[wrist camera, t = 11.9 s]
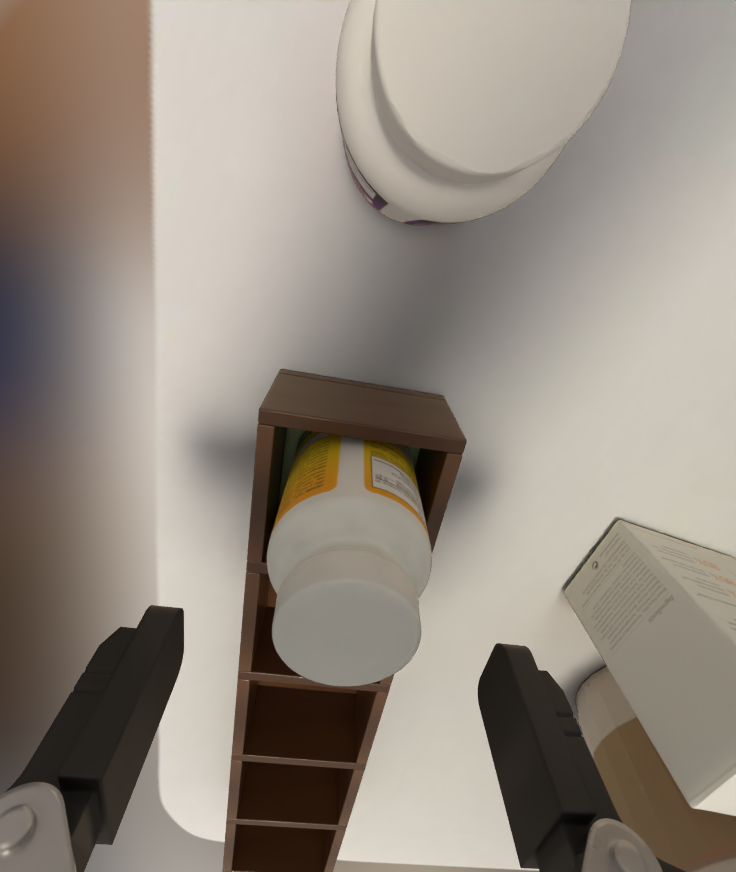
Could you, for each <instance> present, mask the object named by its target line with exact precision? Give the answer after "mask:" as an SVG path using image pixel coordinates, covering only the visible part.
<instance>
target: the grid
mask: <svg viewBox="0 0 736 872" xmlns="http://www.w3.org/2000/svg"><path fill="white" fill-rule="evenodd" d="M258 422H259V423H258V428H257V440H256V453H255V466H254V478H253V491H252V504H251V517H250V529H249V542H248V555H247V568H246V570H247V571H246V580H245V593H244V606H243V618H242V631H241V644H240V657H239V671H238V682H237V695H236V708H235V720H234V733H233V746H232V757H231V770H230V783H229V796H228V808H227V823H226V834H225V847H224V860H223V872H333V869H334V866H335V863H336V860H337V856H338V853H339V850H340V847H341V844H342V840H343V837H344V834H345V831H346V827H347V824H348V821H349V818H350V815H351V812H352V808H353V805H354V802H355V799H356V795H357V792H358V789H359V786H360V783H361V779H362V776H363V773H364V770H365V767H366V763H367V760H368V757H369V753H370V750H371V747H372V744H373V741H374V737H375V734H376V731H377V728H378V725H379V721H380V718H381V715H382V712H383V708H384V705H385V702H386V699H387V696H388V692H389V689H390V686H391V683H392V680H393V676H394V674H393V675H391V676H389V677H387V678H384V679H382V680H380V681H377V682H374V683H370V684H365V685H359V686H332V685H326V684H323V683H319V682H315V681H312V680H309V679H307V678H305V677H303V676H301V675H299V674H298V673H296V672H295V671H293V670H292V669H290V668H289V667H288V666H287V665H286V664H285V663H284V661H283V660H282V659H281V658H280V656H279V654H278V653H277V651H276V649H275V646H274V643H273V639H272V624H273V618H274V613H275V607H276V599H277V593H276V592H275V590H274V588H273V586H272V583H271V581H270V578H269V574H268V568H267V550H268V545H269V540H270V537H271V533H272V530H273V527H274V523H275V520H276V516H277V513H278V510H279V507H280V503H281V500H282V496H283V493H284V490H285V486H286V483H287V480H288V476H289V472H290V469H291V466H292V462H293V458H294V454H295V452H296V449H297V446H298V444H299V442H300V440H301V439H302V437H303V436H304V435H305V434H306V432H307V431H312V432H319V433H325V434H332V435H339V436H345V437H352V438H358V439H365V440H372V441H378V442H385V443H391V444H398V445H405V446H408V447H409V450H410V454H411V457H412V462H413V466H414V471H415V475H416V480H417V484H418V489H419V494H420V498H421V503H422V508H423V512H424V517H425V521H426V526H427V530H428V534H429V540H430V545H431V553H432V552H433V548H434V545H435V542H436V539H437V536H438V532H439V529H440V526H441V523H442V520H443V516H444V513H445V510H446V507H447V503H448V500H449V497H450V494H451V491H452V487H453V484H454V481H455V478H456V475H457V471H458V468H459V465H460V462H461V459H462V454H463V452H464V448H465V445H466V442H467V441H466V438H465V436H464V434H463V433H462V431H461V429H460V427H459V425H458V423H457V421H456V419H455V417H454V415H453V413H452V411H451V409H450V407H449V405H448V403H447V402H446V400H445V398H444V396H441V395H435V394H429V393H423V392H417V391H411V390H405V389H399V388H393V387H386V386H380V385H374V384H368V383H362V382H356V381H350V380H344V379H338V378H332V377H326V376H320V375H314V374H308V373H302V372H296V371H289V370H283V369H280V371H279V373H278V375H277V376H276V378H275V380H274V382H273V384H272V386H271V388H270V390H269V392H268V393H267V395H266V397H265V399H264V401H263V403H262V405H261V407H260V409H259V417H258Z"/></svg>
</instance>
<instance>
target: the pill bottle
mask: <svg viewBox="0 0 736 872" xmlns="http://www.w3.org/2000/svg"><path fill="white" fill-rule="evenodd" d="M630 9H631V0H351V1H350V4H349V7H348V9H347V12H346V15H345V18H344V22H343V26H342V30H341V35H340V40H339V45H338V53H337V63H336V101H337V111H338V116H339V122H340V127H341V133H342V138H343V144H344V149H345V154H346V159H347V163H348V167H349V169H350V172H351V175H352V177H353V179H354V181H355V183H356V185H357V187H358V189H359V191H360V192H361V193H362V195H363V196H364V197H365V199H366V200H367V201H368V202H369V203H370V204H371V205H372V206H373V207H374V208H375V209H377V210H378V211H379V212H381V213H382V214H384V215H385V216H387V217H389V218H391V219H393V220H396V221H399V222H403V223H406V224H411V225H430V224H446V223H461V222H467V221H471V220H475V219H479V218H482V217H485V216H487V215H490V214H492V213H494V212H496V211H499V210H501V209H503V208H504V207H506V206H508V205H510V204H511V203H513V202H514V201H515V200H517V199H518V198H519V197H521V196H522V195H523V194H525V193H526V192H527V191H528V190H529V189H531V188H532V187H533V186H534V185H535V184H536V183H537V182H538V181H539V179H540V178H541V177H542V176H543V175H544V174H545V173H546V172H547V170H548V169H549V168H550V166H551V165H552V164H553V162H554V161H555V160H556V158H557V157H558V155H559V153H560V152H561V150H562V148H563V147H564V145H565V143H566V142H567V141H568V140H569V139H570V138H571V137H572V136H573V135H574V134H575V133H576V132H577V131H578V130H579V128H580V127H581V126H582V125H583V124H584V122H585V121H586V120H587V119H588V117H589V116H590V115H591V113H592V112H593V111H594V109H595V108H596V106H597V104H598V103H599V101H600V99H601V98H602V96H603V95H604V93H605V91H606V89H607V87H608V85H609V83H610V81H611V79H612V76H613V74H614V71H615V69H616V67H617V64H618V61H619V58H620V55H621V51H622V48H623V45H624V41H625V38H626V33H627V29H628V24H629V16H630Z"/></svg>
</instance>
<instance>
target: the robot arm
mask: <svg viewBox="0 0 736 872" xmlns="http://www.w3.org/2000/svg"><path fill="white" fill-rule="evenodd" d="M183 653H184V611H183V609H182V608H173V607H164V606H154V605H151V606H149V608H148V609H147V610H146V612H145V614H144V616H143V617H142V620H141V621H140V623H139V625H138V627H137V628H127V627H120V628H119V629H118V630H116V631H115V632H114V633H113V634H112V635H111V636H110V637H108V638H107V639H106V640H105V641H104V642H103V643H102V644H101V645H100V646H99V647H98V649H97V650H96V652H95V654H94V656H93V657H92V659H91V661H90V662H89V664H88V666H87V667H86V670H85V672H84V673H83V674H82V675H81V677H80V679H79V680H78V682H77V684H76V685H75V687H74V691H73V692H71V694H70V695H69V697H68V699H67V700H66V702H65V704H64V705H63V707H62V708H61V710H60V712H59V714H58V715H57V717H56V718H55V720H54V722H53V723H52V725H51V727H50V728H49V730H48V732H47V733H46V735H45V737H44V739H43V740H42V742H41V743H40V745H39V747H38V748H37V750H36V752H35V753H34V755H33V757H32V758H31V760H30V762H29V763H28V765H27V767H26V768H25V770H24V771H23V773H22V774H21V776H20V777H19V778H18V779H17V780H16V782H15V783H14V784H13V785H12V786H11V787H10V788H9V789H8V790H7V791H6V792H5V793H3V794H2V795H0V872H84V870H85V868H86V865H87V863H88V861H89V858H90V856H91V853H92V851H93V848H94V846H95V844H108V845H112V844H113V841H114V838H115V836H116V833H117V830H118V828H119V826H120V823H121V820H122V818H123V815H124V813H125V810H126V808H127V805H128V803H129V800H130V797H131V795H132V792H133V790H134V787H135V785H136V782H137V779H138V777H139V774H140V771H141V769H142V767H143V764H144V762H145V759H146V756H147V754H148V751H149V749H150V746H151V744H152V741H153V738H154V736H155V733H156V731H157V728H158V726H159V723H160V721H161V718H162V715H163V713H164V710H165V708H166V705H167V703H168V700H169V697H170V695H171V692H172V690H173V687H174V685H175V682H176V680H177V677H178V674H179V671H180V667H181V663H182V659H183ZM478 701H479V707H480V711H481V715H482V719H483V722H484V726H485V730H486V734H487V738H488V742H489V746H490V750H491V754H492V758H493V761H494V765H495V769H496V773H497V777H498V781H499V785H500V789H501V793H502V797H503V800H504V804H505V808H506V812H507V816H508V820H509V824H510V828H511V832H512V836H513V839H514V843H515V847H516V851H517V855H518V859H519V863H520V867H521V868H534V869H539V871H540V872H686V871H684V870H681V869H679V868H677V867H675V866H673V865H671V864H668V863H666V862H664V861H662V860H661V859H659V858H657V857H656V856H655V855H654V854H653V852H652V851H651V849H650V848H649V846H648V845H647V844H646V843H645V842H644V840H643V839H642V838H641V837H640V836H639V835H638V834H637V833H636V832H634V831H633V830H632V829H631V828H629V827H628V826H626V825H625V824H623V822H622V820H621V819H620V817H619V815H618V813H617V811H616V809H615V807H614V805H613V802H612V800H611V798H610V796H609V793H608V791H607V789H606V787H605V784H604V782H603V780H602V778H601V775H600V773H599V771H598V769H597V766H596V764H595V762H594V760H593V757H592V755H591V753H590V751H589V748H588V746H587V744H586V742H585V739H584V738H583V737H582V736H581V733H582V732H581V730H580V728H579V726H578V723H577V721H576V719H575V718H573V712H572V710H571V708H570V705H569V703H568V701H567V699H566V696H565V694H564V692H563V690H562V689H561V688H560V687H559V685H558V684H557V683H556V682H555V680H554V679H553V678H552V677H551V675H550V674H549V673H548V672H547V671H541V670H538V668H537V665H536V663H535V660H534V658H533V656H532V653H531V651H530V650H529V649H528V648H527V647H526V646H519V645H509V644H500V643H498V644H496V645H495V647H494V649H493V651H492V653H491V655H490V657H489V660H488V662H487V664H486V666H485V668H484V671H483V673H482V675H481V677H480V680H479V684H478Z"/></svg>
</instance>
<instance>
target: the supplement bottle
mask: <svg viewBox="0 0 736 872" xmlns="http://www.w3.org/2000/svg"><path fill="white" fill-rule="evenodd" d="M431 565H432V553H431V545H430V540H429V534H428V530H427V526H426V521H425V517H424V512H423V508H422V503H421V498H420V494H419V489H418V484H417V480H416V475H415V471H414V466H413V462H412V457H411V454H410V450H409V447H408V446H405V445H398V444H391V443H385V442H378V441H372V440H365V439H358V438H352V437H345V436H339V435H332V434H325V433H319V432H312V431H307V432H306V434H305V435H304V436H303V437H302V439H301V440H300V442H299V444H298V446H297V449H296V452H295V454H294V458H293V462H292V466H291V469H290V472H289V476H288V480H287V483H286V486H285V490H284V493H283V496H282V500H281V503H280V507H279V510H278V513H277V516H276V520H275V523H274V527H273V530H272V533H271V537H270V540H269V545H268V550H267V568H268V574H269V578H270V581H271V583H272V586H273V588H274V590H275V592H276V593H277V599H276V607H275V613H274V618H273V624H272V639H273V643H274V646H275V649H276V651H277V653H278V654H279V656H280V658H281V659H282V660H283V661H284V663H285V664H286V665H287V666H288V667H289V668H290V669H292V670H293V671H295V672H296V673H298V674H299V675H301V676H303V677H305V678H307V679H309V680H312V681H315V682H319V683H323V684H326V685H332V686H359V685H365V684H370V683H374V682H377V681H380V680H382V679H384V678H387V677H389V676H391V675H393V674H395V673H396V672H398V671H399V670H401V669H402V668H403V667H404V666H405V665H406V664H407V663H408V662H409V661H410V660H411V659H412V657H413V656H414V654H415V652H416V650H417V648H418V646H419V643H420V638H421V623H420V615H419V608H418V603H419V601H418V598H419V597H420V595H421V594H422V592H423V590H424V588H425V586H426V584H427V582H428V579H429V576H430V571H431Z"/></svg>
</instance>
